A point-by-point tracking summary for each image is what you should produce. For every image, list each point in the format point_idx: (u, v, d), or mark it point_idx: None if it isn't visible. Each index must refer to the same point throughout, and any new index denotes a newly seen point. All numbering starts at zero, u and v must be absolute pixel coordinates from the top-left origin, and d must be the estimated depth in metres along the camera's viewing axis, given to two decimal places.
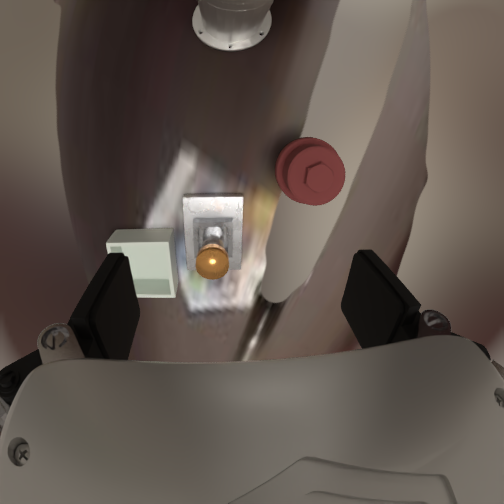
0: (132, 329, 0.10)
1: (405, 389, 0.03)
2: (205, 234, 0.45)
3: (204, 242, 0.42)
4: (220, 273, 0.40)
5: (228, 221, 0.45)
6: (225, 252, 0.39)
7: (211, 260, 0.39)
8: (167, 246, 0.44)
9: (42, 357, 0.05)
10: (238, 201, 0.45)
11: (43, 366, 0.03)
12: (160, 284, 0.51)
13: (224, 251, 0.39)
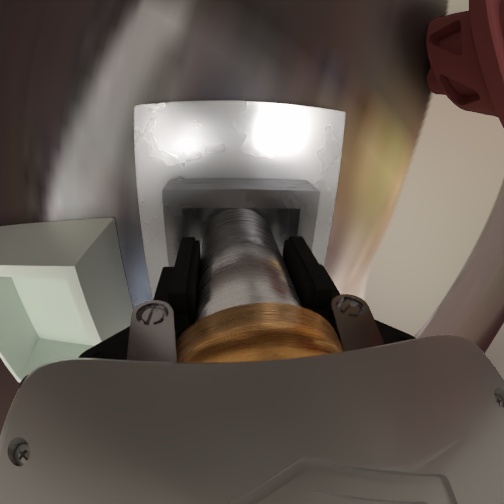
0: None
1: (406, 389, 0.03)
2: (212, 237, 0.11)
3: (210, 276, 0.09)
4: None
5: (301, 188, 0.12)
6: None
7: None
8: (75, 282, 0.10)
9: (131, 328, 0.06)
10: (330, 124, 0.12)
11: (43, 366, 0.03)
12: None
13: (339, 345, 0.06)
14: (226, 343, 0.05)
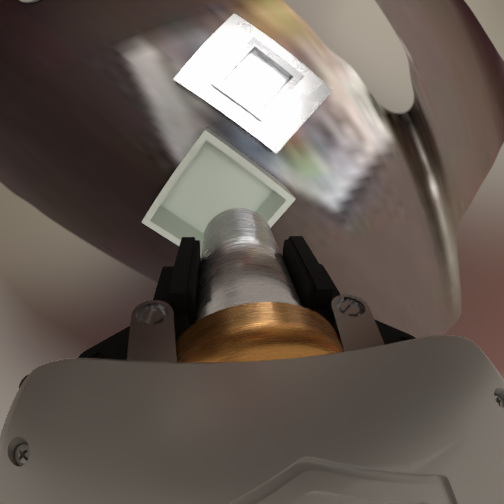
0: None
1: (405, 389, 0.03)
2: (211, 239, 0.12)
3: (208, 278, 0.09)
4: None
5: (248, 42, 0.21)
6: None
7: None
8: (210, 137, 0.24)
9: (131, 328, 0.06)
10: (235, 21, 0.21)
11: (43, 366, 0.03)
12: (265, 208, 0.31)
13: (336, 342, 0.06)
14: (220, 344, 0.05)
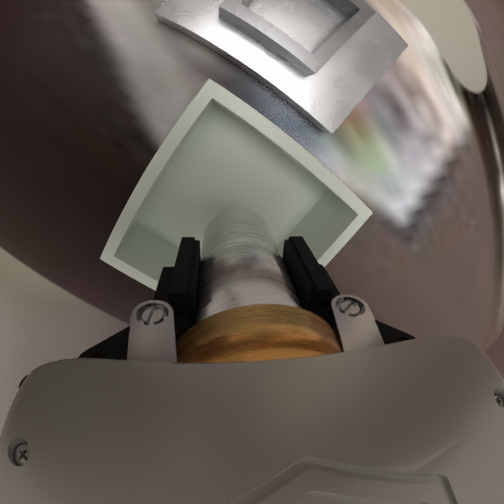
0: None
1: (405, 389, 0.03)
2: (210, 240, 0.12)
3: (208, 279, 0.09)
4: None
5: None
6: None
7: None
8: (220, 92, 0.11)
9: (131, 328, 0.06)
10: None
11: (43, 366, 0.03)
12: (312, 225, 0.18)
13: (335, 344, 0.06)
14: (220, 346, 0.05)
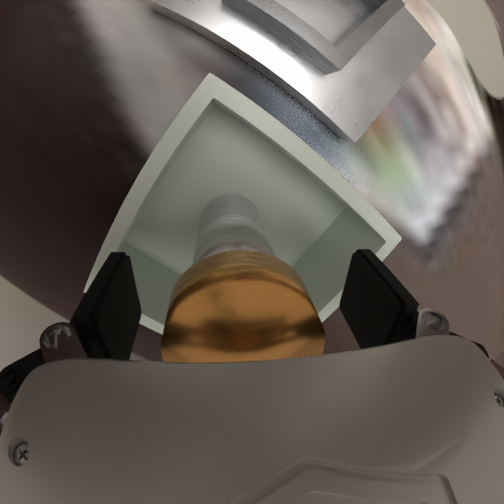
0: (134, 328, 0.10)
1: (405, 389, 0.03)
2: (206, 217, 0.14)
3: (202, 244, 0.11)
4: None
5: None
6: (304, 291, 0.08)
7: (243, 337, 0.07)
8: (224, 90, 0.08)
9: (44, 356, 0.05)
10: None
11: (43, 366, 0.03)
12: (330, 249, 0.16)
13: (300, 284, 0.08)
14: (206, 276, 0.07)
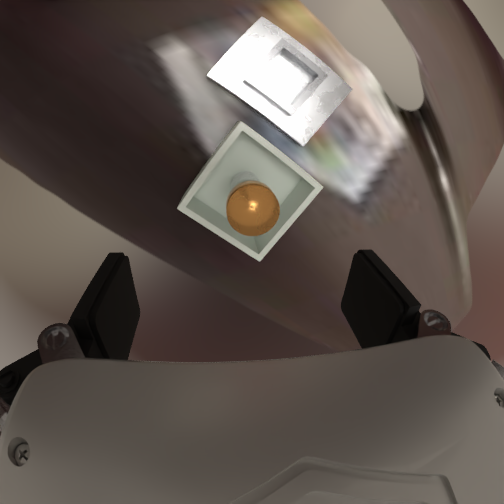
0: (132, 329, 0.10)
1: (405, 389, 0.03)
2: (235, 179, 0.30)
3: (236, 185, 0.28)
4: (265, 224, 0.25)
5: (277, 43, 0.23)
6: None
7: (253, 202, 0.24)
8: (246, 128, 0.25)
9: (42, 357, 0.05)
10: (263, 23, 0.23)
11: (43, 366, 0.03)
12: (293, 197, 0.33)
13: (271, 190, 0.25)
14: (242, 185, 0.24)
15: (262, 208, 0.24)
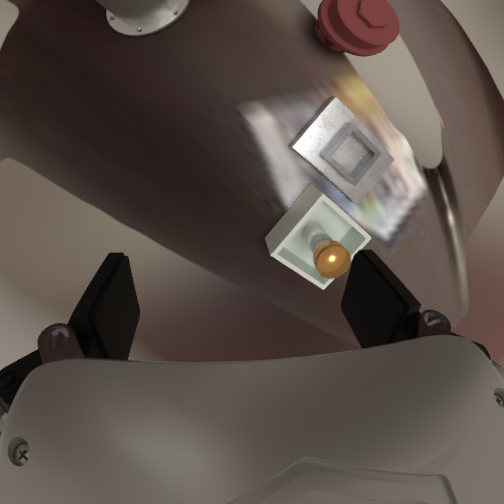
0: (132, 329, 0.10)
1: (405, 389, 0.03)
2: (309, 230, 0.41)
3: (315, 239, 0.38)
4: (340, 271, 0.36)
5: (348, 126, 0.33)
6: None
7: (335, 258, 0.35)
8: (326, 198, 0.36)
9: (42, 357, 0.05)
10: (336, 103, 0.33)
11: (43, 366, 0.03)
12: (347, 241, 0.43)
13: (344, 247, 0.35)
14: (328, 245, 0.35)
15: (340, 261, 0.35)
